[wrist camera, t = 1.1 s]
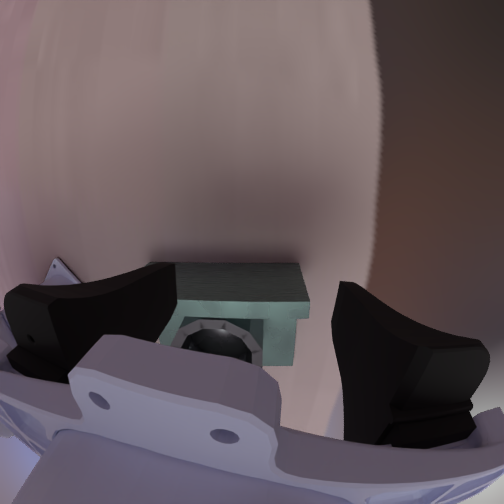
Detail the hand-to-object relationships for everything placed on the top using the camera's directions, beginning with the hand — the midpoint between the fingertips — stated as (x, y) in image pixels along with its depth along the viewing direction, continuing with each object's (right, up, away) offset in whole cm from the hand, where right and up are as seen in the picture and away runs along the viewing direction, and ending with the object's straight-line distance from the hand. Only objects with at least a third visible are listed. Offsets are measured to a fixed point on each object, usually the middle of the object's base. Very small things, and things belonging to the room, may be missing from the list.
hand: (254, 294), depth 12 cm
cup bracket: (-3, -5, +13) cm, 15 cm away
